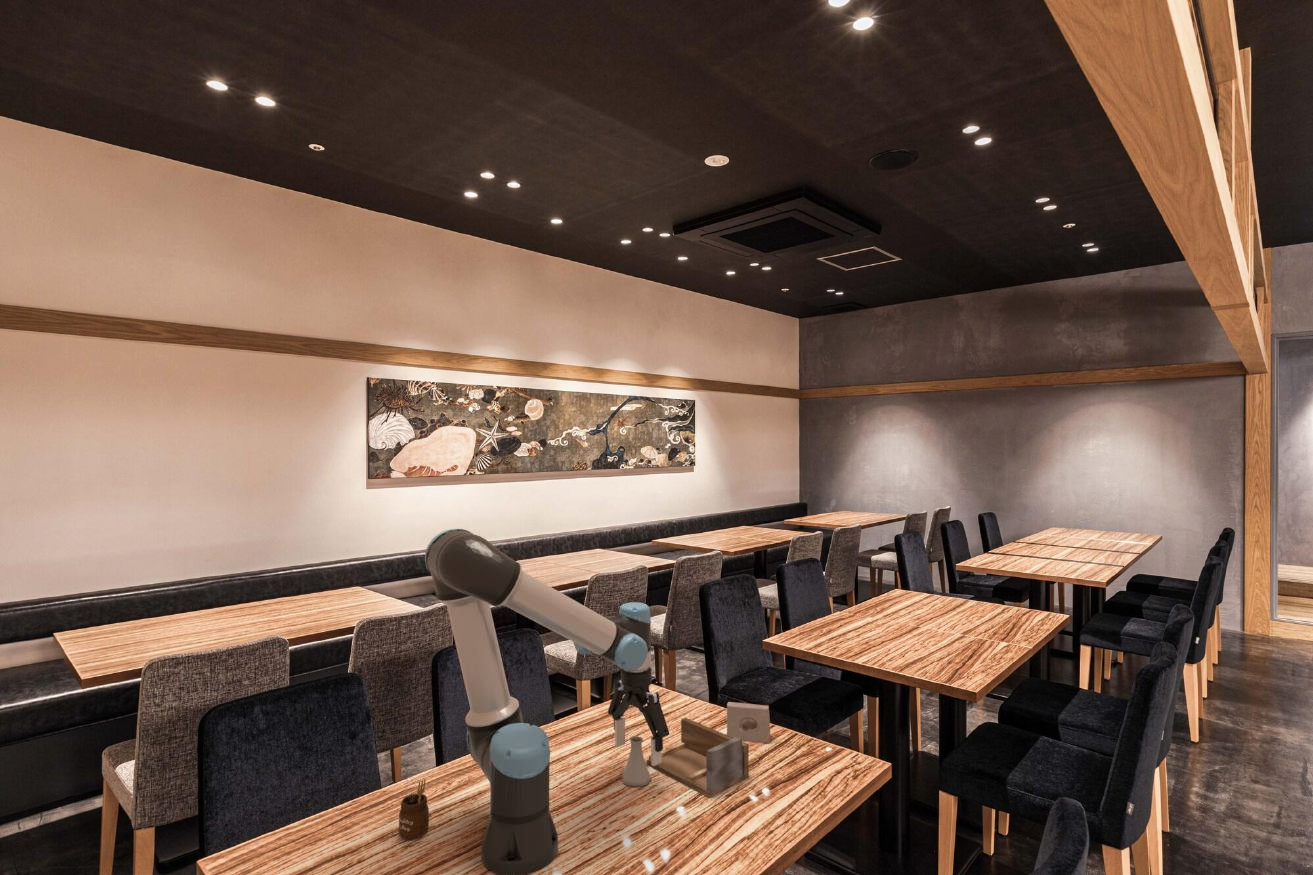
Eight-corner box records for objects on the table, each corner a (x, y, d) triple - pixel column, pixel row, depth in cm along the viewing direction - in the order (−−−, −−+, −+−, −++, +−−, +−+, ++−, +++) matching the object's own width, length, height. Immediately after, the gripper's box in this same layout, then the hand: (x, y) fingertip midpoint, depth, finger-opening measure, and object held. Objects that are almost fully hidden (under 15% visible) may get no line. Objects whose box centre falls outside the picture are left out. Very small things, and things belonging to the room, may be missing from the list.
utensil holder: (418, 821, 142) (419, 765, 143) (435, 832, 138) (435, 774, 139) (393, 833, 138) (393, 776, 138) (409, 845, 134) (409, 785, 134)
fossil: (726, 740, 182) (726, 705, 182) (727, 734, 186) (727, 700, 186) (770, 744, 180) (769, 709, 180) (770, 738, 183) (770, 704, 183)
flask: (652, 773, 163) (652, 733, 163) (649, 788, 156) (649, 746, 156) (623, 772, 164) (623, 732, 164) (619, 787, 157) (619, 744, 157)
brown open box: (709, 798, 151) (709, 753, 152) (646, 764, 168) (646, 724, 168) (748, 777, 161) (748, 735, 161) (685, 748, 177) (685, 710, 177)
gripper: (682, 675, 154) (684, 766, 154) (616, 652, 172) (617, 733, 172) (659, 684, 149) (661, 777, 149) (593, 659, 167) (594, 742, 167)
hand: (637, 754), depth 160 cm, fingers open, 13 cm apart
